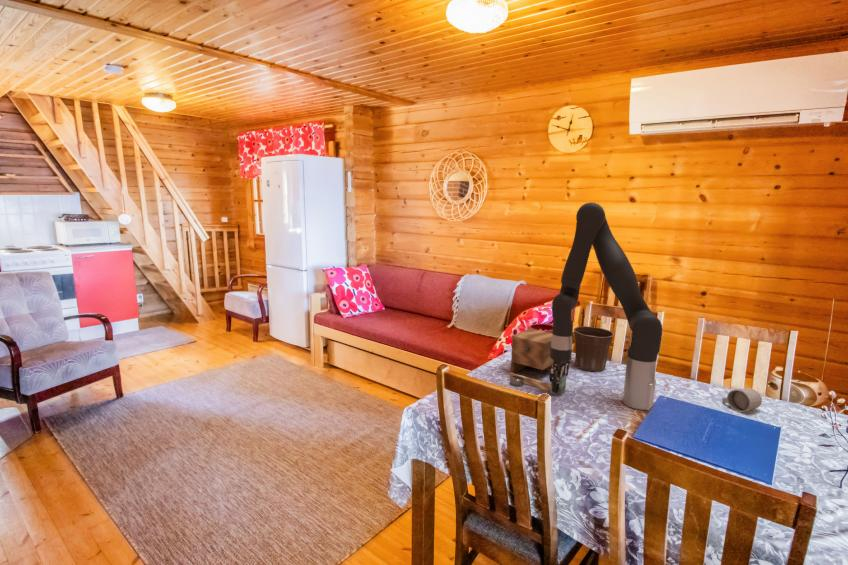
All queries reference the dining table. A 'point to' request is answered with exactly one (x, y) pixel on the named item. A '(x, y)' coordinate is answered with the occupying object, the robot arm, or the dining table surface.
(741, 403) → the ceramic mug
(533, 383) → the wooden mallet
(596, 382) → the dining table surface
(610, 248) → the robot arm
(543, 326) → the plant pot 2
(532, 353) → the bread box
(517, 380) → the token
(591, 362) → the plant pot
